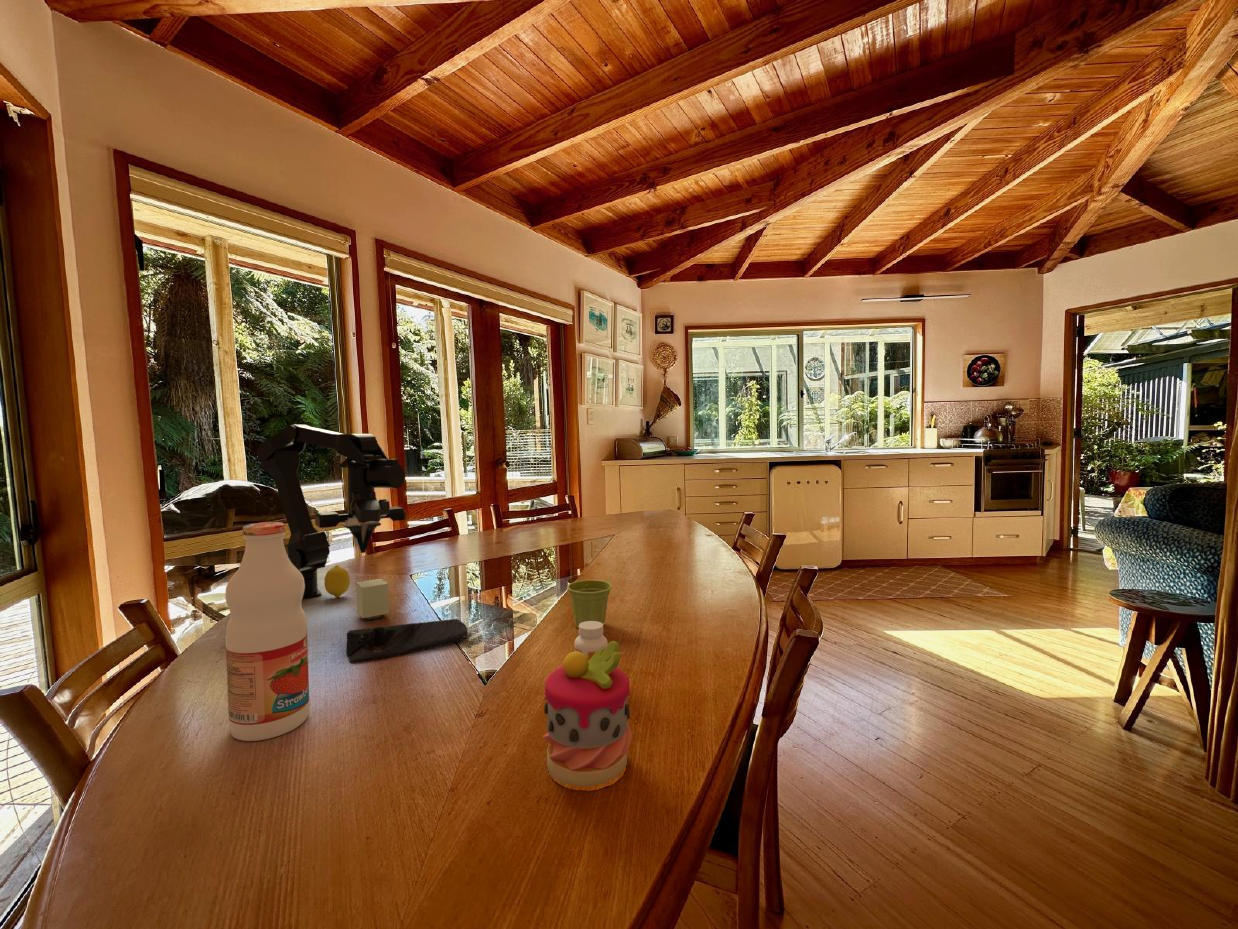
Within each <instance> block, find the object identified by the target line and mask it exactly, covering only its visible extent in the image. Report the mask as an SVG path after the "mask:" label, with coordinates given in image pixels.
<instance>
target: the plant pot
mask: <svg viewBox="0 0 1238 929" xmlns="http://www.w3.org/2000/svg"><path fill="white" fill-rule="evenodd" d="M612 588H613V585H612V584H611V583H610V582H608V581H605V580H599V579H584V580H577V581H574V582H571V583H569V584H568V585H567V590H568V592H569V596H570V598H571V604H572V610H573V616H574V618H573V619H574V625H575V624H576V625H577V626H579V624H580V623H582V622H586V621H597V622H601V623H604V622H605V623H606V617H607V616H606V615H607V608H608V607H607V606H608V600H609V596H610V594H611V593H610V592H611V590H612Z"/></svg>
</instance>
